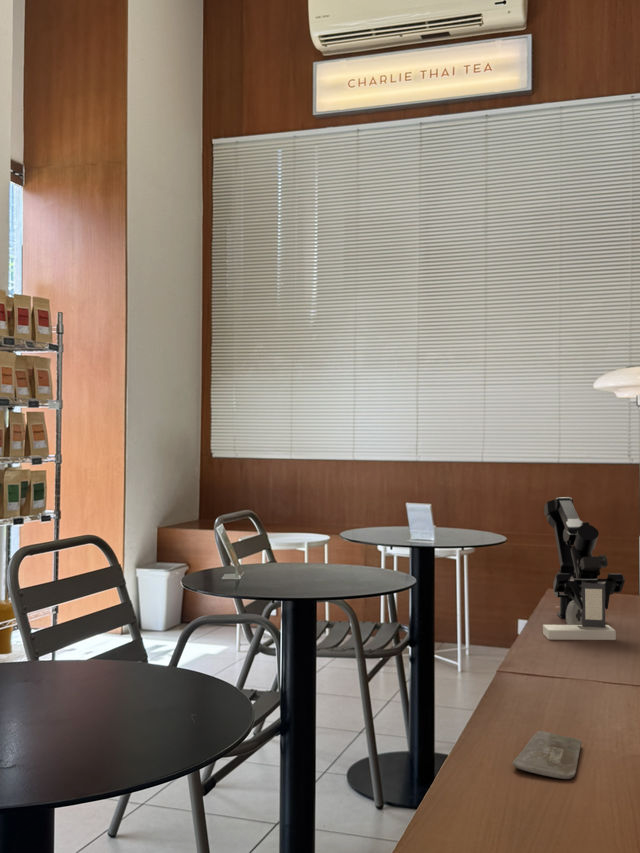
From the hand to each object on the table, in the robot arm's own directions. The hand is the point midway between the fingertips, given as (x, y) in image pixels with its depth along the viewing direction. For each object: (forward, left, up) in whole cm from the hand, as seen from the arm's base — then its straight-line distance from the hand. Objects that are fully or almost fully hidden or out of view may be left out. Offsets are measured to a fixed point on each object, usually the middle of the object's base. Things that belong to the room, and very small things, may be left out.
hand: (594, 608), depth 235 cm
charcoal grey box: (-1, 0, -5) cm, 5 cm away
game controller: (-16, +2, -8) cm, 19 cm away
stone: (+90, -32, -9) cm, 96 cm away
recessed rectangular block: (-1, -4, -8) cm, 9 cm away
